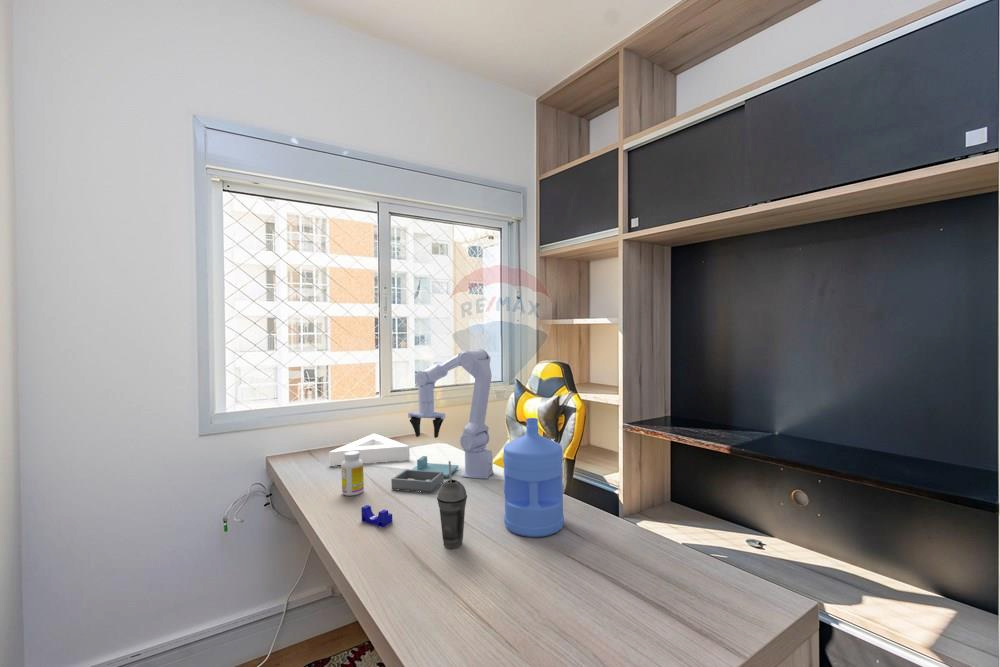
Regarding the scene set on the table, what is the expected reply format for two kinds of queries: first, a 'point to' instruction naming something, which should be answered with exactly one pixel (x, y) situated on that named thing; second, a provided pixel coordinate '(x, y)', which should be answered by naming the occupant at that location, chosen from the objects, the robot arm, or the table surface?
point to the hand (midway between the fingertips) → (427, 436)
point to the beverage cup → (452, 511)
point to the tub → (417, 480)
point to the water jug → (533, 484)
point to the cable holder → (381, 520)
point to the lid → (434, 466)
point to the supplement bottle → (352, 474)
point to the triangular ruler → (372, 450)
